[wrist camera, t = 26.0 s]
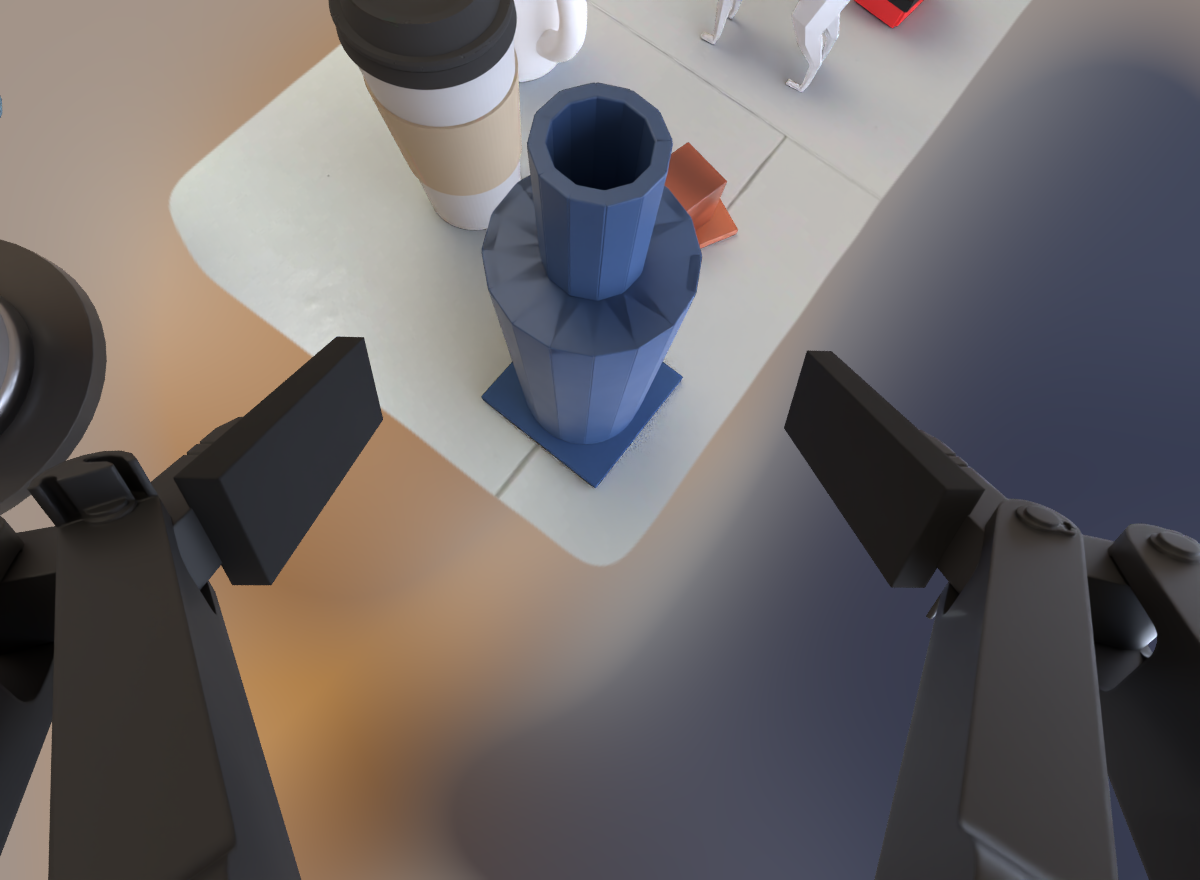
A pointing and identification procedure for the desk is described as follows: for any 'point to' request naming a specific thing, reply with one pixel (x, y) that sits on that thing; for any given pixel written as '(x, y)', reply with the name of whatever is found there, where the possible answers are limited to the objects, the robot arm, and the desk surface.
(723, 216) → the orange flat plate
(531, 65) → the mug
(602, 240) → the blue bottle
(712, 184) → the terracotta block
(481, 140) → the coffee cup
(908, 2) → the figurine
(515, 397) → the blue mat
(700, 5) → the desk surface
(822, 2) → the cat figurine
